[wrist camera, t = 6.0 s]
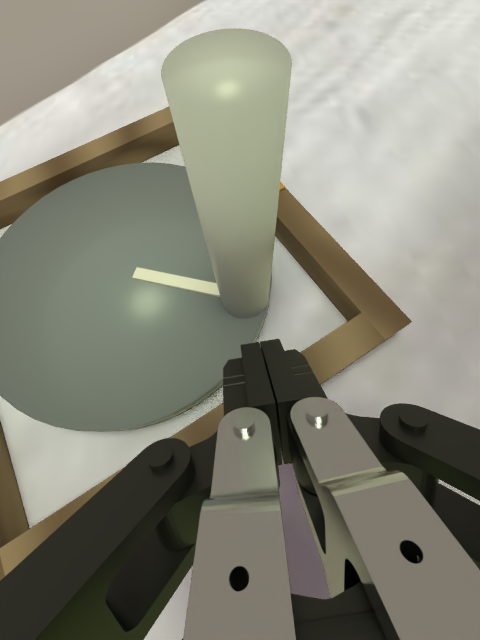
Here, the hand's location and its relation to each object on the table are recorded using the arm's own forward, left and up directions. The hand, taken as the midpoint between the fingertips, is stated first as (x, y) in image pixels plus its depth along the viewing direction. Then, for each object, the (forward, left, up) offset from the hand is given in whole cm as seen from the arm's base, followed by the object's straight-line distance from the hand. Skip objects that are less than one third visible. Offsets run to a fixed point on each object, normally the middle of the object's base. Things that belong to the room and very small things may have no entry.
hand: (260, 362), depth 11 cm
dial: (+4, -11, -7) cm, 14 cm away
